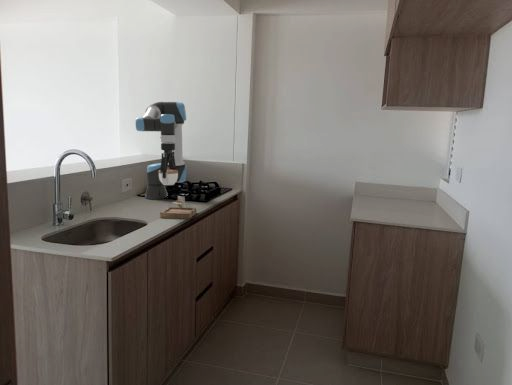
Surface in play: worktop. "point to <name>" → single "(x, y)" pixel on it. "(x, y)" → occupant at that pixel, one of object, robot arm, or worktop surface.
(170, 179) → the lidded jar
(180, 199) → the architectural model
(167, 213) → the wooden tray
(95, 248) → the worktop surface
